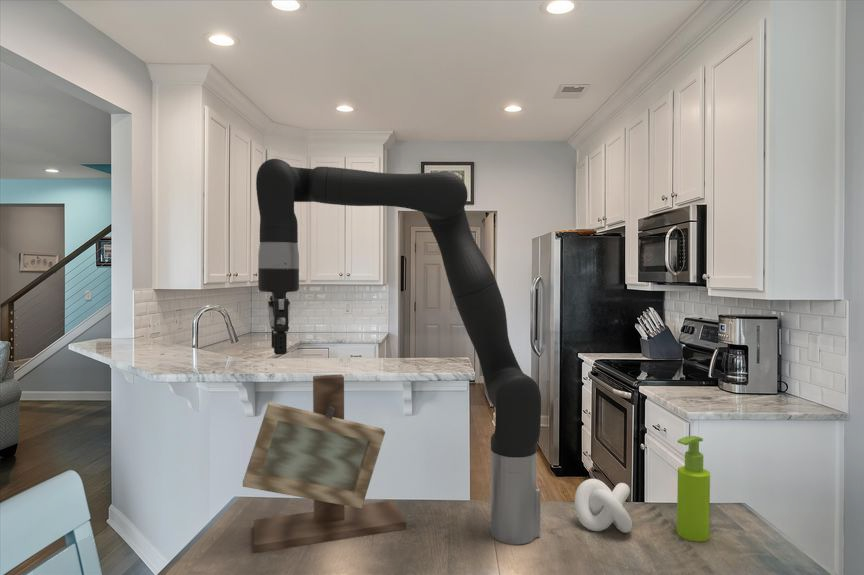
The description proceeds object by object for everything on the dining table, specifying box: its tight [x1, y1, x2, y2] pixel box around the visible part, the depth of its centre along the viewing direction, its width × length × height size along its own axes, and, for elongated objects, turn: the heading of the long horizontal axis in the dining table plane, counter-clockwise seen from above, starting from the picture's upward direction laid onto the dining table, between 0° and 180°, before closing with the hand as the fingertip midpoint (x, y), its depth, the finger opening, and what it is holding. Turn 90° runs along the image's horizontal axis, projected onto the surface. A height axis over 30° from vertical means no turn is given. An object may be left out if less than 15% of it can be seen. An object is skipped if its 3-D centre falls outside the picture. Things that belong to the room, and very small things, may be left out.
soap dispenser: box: [676, 435, 711, 543], centre depth 109 cm, size 6×7×20 cm
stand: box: [253, 373, 407, 554], centre depth 111 cm, size 30×11×32 cm, turn 109°
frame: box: [242, 401, 386, 508], centre depth 107 cm, size 24×2×18 cm, turn 109°
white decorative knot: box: [573, 478, 633, 534], centre depth 112 cm, size 11×12×9 cm
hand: (278, 351), depth 103 cm, fingers open, 8 cm apart
